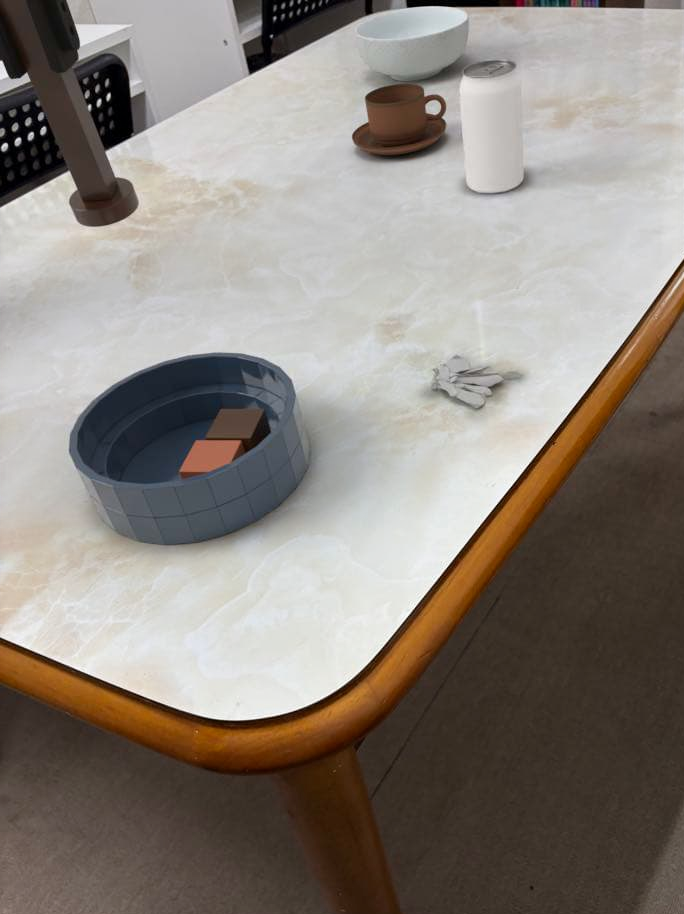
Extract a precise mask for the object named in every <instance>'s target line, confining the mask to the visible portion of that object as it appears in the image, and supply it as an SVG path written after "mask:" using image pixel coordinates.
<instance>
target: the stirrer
mask: <svg viewBox="0 0 684 914" xmlns="http://www.w3.org/2000/svg"><path fill="white" fill-rule="evenodd" d="M0 10H1V12H2V15H3V17H4V19H5V22H6V24H7V26H8V29H9V31H10V33H11V36H12V38H13V40H14V42H15V45H16V47H17V49H18V52H19V54H20V56H21V59H22V61H23V63H24V66H25V68H26V70H27V73H26V74H27V76H28V78H29V80H30V83H31V85H32V88H33V90H34V92H35V94H36V97H37V99H38V101H39V104H40V106H41V108H42V111H43V113H44V115H45V118H46V120H47V122H48V124H49V127H50V129H51V132H52V134H53V136H54V138H55V141H56V142H57V146H58V148H59V150H60V152H61V154H62V157H63V160H64V162H65V164H66V166H67V168H68V171H69V173H70V176H71V178H72V180H73V183H74V185H75V187H76V190H75V191H73V192H72V194H71V195H70V197H69V199H68V204H69V207H70V209H71V211H72V213H73V216H74V218H75V220H76V221H77V223H78V224H80V225H81V226H85V227H90V228H99V227H107V226H110V225H113V224H117V223H119V222H121V221H124V220H125V219H127V218H129V217H130V216H132V215H133V214H134V213H135V212H136V210H137V209H138V207H139V204H140V201H139V198H138V195H137V192H136V190H135V187H134V184H133V183H132V182H131V180H129V179H127V178H124V177H117V176H116V175H115V172H114V171H113V168H112V165H111V162H110V160H109V157H108V155H107V152H106V150H105V147H104V144H103V142H102V140H101V137H100V135H99V132H98V130H97V127H96V124H95V121H94V118H93V117H92V114H91V112H90V109H89V106H88V104H87V101H86V98H85V96H84V94H83V91H82V88H81V85H80V84H79V81H78V79H77V76H76V73H75V71H74V68H73V66H72V67H71V68H70V69H69V70H68V71H67V72H65V73H56V72H55V71H52V70H51V68H50V65H49V63H48V60H47V57H46V55H45V52H44V49H43V46H42V44H41V41H40V38H39V36H38V33H37V30H36V27H35V25H34V22H33V19H32V17H31V14H30V11H29V9H28V6H27V2H26V0H0Z"/></svg>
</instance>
